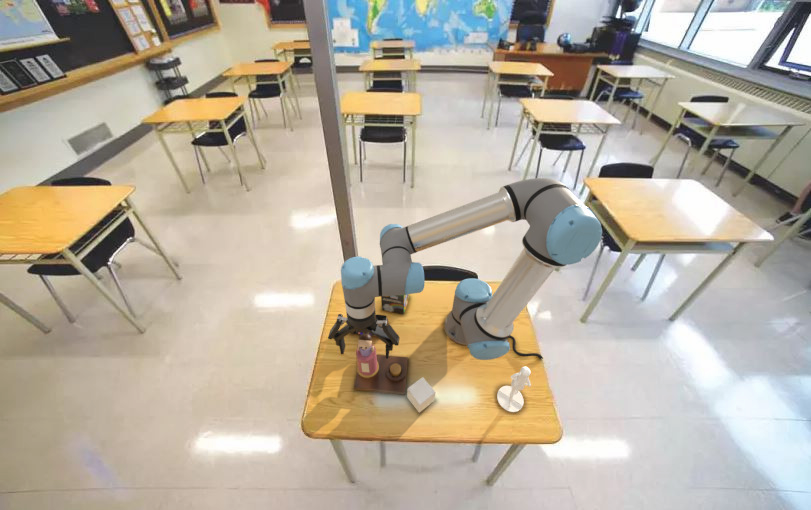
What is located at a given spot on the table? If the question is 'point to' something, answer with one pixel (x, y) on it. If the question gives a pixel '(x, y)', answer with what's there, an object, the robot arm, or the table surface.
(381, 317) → the figurine character
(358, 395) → the table surface
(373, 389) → the brown wooden base
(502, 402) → the figurine
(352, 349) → the table surface
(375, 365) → the doll
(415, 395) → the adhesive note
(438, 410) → the table surface
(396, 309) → the chalk box
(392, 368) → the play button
